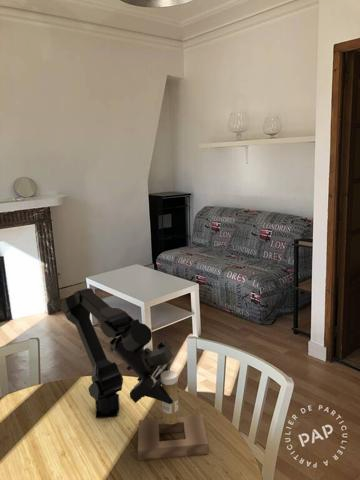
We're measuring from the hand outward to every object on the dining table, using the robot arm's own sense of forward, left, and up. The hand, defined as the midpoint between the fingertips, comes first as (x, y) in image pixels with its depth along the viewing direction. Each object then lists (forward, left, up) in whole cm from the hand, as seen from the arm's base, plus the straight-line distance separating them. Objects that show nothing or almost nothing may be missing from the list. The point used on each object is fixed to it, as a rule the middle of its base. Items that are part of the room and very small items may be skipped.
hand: (174, 397), depth 110 cm
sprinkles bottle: (-1, 0, -7) cm, 7 cm away
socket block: (-1, 0, -13) cm, 13 cm away
